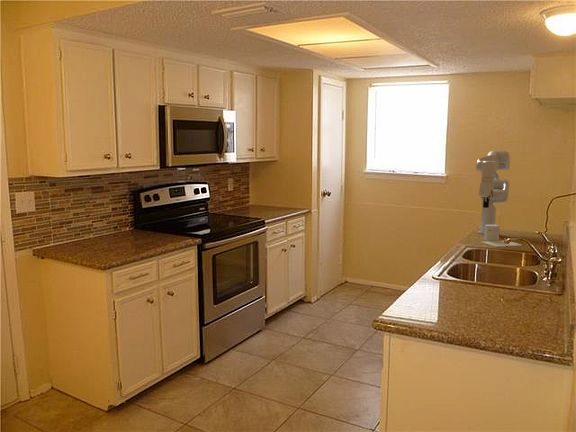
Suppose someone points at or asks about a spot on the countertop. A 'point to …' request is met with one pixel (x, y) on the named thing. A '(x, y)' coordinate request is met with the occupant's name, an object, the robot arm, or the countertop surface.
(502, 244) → the mat
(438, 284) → the countertop surface
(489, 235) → the small box
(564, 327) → the countertop surface
